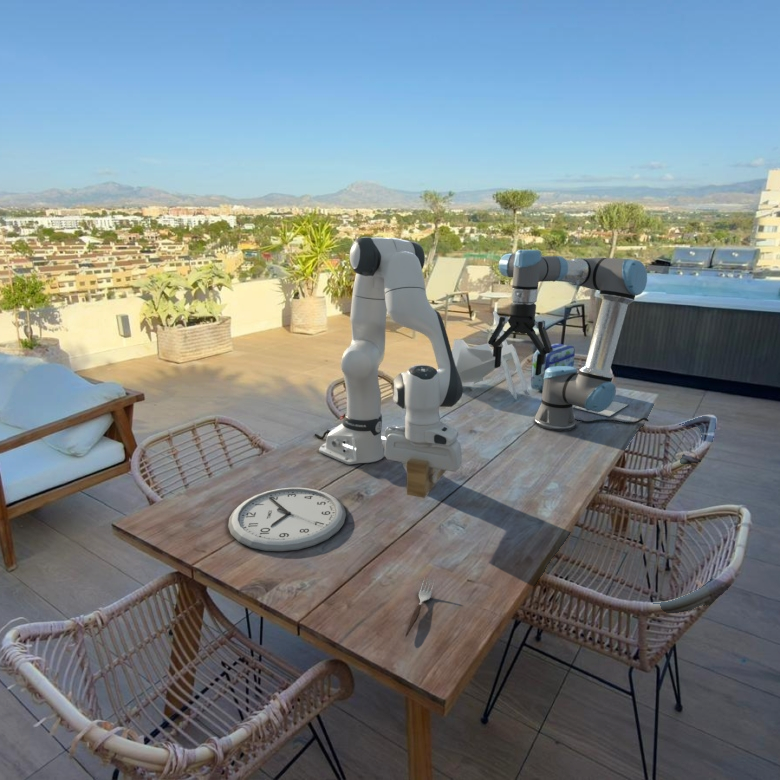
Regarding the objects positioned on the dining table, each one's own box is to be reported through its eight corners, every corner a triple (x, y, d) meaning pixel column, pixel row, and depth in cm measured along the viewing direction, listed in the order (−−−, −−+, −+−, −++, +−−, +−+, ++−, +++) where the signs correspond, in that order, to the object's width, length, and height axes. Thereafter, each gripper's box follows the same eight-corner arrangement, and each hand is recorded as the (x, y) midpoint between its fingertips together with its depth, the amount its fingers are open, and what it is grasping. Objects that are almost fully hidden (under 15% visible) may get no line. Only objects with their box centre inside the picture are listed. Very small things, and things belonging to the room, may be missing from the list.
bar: (440, 456, 156) (440, 427, 154) (455, 458, 154) (456, 430, 152) (406, 494, 134) (406, 462, 131) (424, 498, 132) (424, 465, 130)
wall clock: (346, 543, 123) (215, 547, 120) (346, 549, 123) (215, 553, 121) (345, 483, 151) (239, 485, 149) (345, 488, 152) (240, 490, 149)
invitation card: (608, 416, 214) (573, 407, 224) (608, 416, 214) (573, 408, 224) (628, 404, 229) (594, 396, 238) (628, 405, 229) (594, 397, 238)
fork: (398, 636, 97) (399, 628, 97) (423, 584, 111) (423, 576, 111) (412, 640, 96) (412, 631, 96) (435, 587, 111) (435, 579, 110)
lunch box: (547, 395, 239) (552, 351, 233) (526, 390, 247) (530, 347, 240) (574, 384, 257) (579, 343, 251) (554, 380, 264) (558, 339, 258)
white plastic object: (461, 429, 252) (437, 405, 227) (444, 352, 274) (420, 323, 250) (535, 404, 240) (518, 377, 215) (510, 326, 262) (492, 293, 237)
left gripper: (379, 428, 133) (380, 477, 138) (456, 440, 125) (455, 492, 129) (390, 420, 139) (390, 467, 143) (464, 431, 131) (462, 481, 135)
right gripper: (480, 300, 162) (476, 366, 168) (559, 308, 148) (551, 380, 154) (491, 297, 168) (486, 361, 174) (568, 305, 153) (560, 375, 160)
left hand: (421, 479), depth 136 cm, fingers closed on bar, 5 cm apart
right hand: (517, 370), depth 164 cm, fingers open, 13 cm apart
